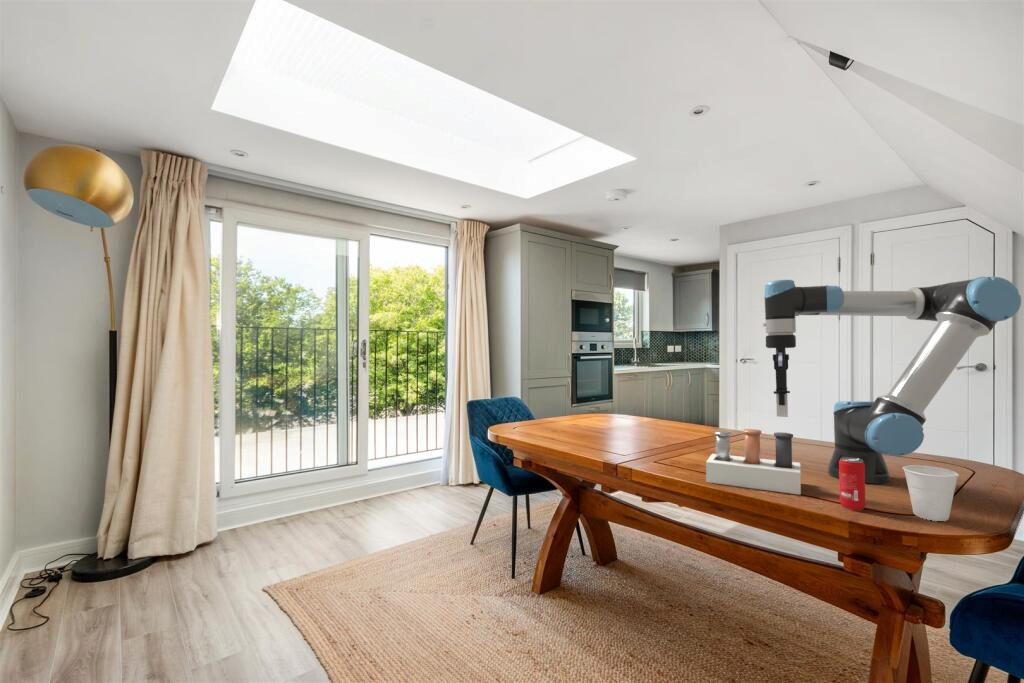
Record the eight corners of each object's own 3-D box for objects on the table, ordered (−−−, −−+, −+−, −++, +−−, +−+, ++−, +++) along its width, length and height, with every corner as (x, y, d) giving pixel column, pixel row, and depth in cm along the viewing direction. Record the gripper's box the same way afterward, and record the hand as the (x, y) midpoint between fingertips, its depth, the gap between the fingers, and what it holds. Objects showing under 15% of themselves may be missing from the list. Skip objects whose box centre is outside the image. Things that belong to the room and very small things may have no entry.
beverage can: (834, 504, 119) (833, 457, 119) (853, 503, 120) (852, 456, 120) (851, 511, 114) (850, 462, 114) (870, 510, 114) (870, 461, 114)
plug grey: (732, 463, 143) (732, 431, 143) (730, 466, 139) (730, 434, 139) (716, 461, 146) (715, 430, 146) (713, 464, 142) (713, 433, 142)
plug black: (793, 466, 135) (793, 433, 135) (793, 470, 131) (793, 436, 131) (774, 464, 137) (774, 431, 137) (773, 468, 133) (773, 434, 133)
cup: (914, 522, 107) (913, 474, 107) (896, 507, 116) (895, 463, 116) (969, 527, 103) (968, 478, 103) (946, 512, 113) (945, 466, 113)
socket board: (800, 483, 137) (800, 462, 137) (800, 494, 127) (800, 472, 127) (712, 472, 150) (712, 453, 150) (706, 482, 139) (705, 461, 139)
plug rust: (762, 462, 139) (761, 429, 139) (761, 465, 135) (760, 432, 135) (744, 460, 141) (743, 428, 141) (742, 463, 137) (742, 431, 137)
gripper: (767, 334, 142) (768, 412, 142) (763, 334, 131) (765, 418, 131) (795, 334, 138) (797, 413, 138) (795, 333, 127) (797, 420, 127)
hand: (782, 416), depth 134 cm, fingers closed
